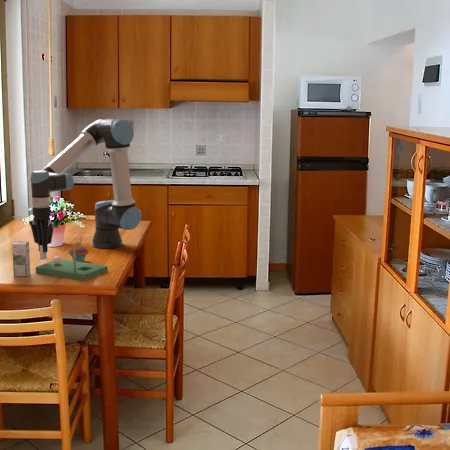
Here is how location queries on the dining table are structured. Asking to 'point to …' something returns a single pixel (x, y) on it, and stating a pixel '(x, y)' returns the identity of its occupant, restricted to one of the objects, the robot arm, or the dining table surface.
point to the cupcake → (79, 253)
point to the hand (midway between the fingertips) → (43, 259)
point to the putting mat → (72, 268)
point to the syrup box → (21, 258)
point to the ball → (56, 260)
